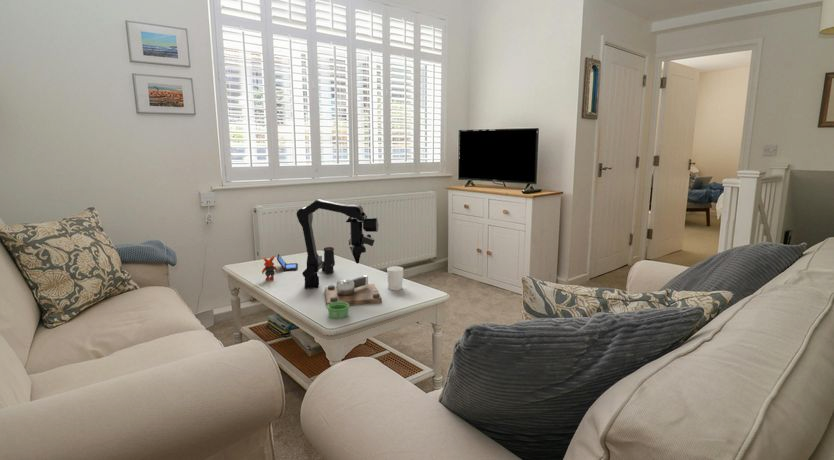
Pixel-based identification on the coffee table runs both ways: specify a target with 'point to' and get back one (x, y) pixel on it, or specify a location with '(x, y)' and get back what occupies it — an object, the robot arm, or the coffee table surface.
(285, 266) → the handheld game console
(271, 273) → the toy animal
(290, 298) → the coffee table surface
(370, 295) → the base plate
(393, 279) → the white cup
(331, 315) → the ramekin
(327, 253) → the scope
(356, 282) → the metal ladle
